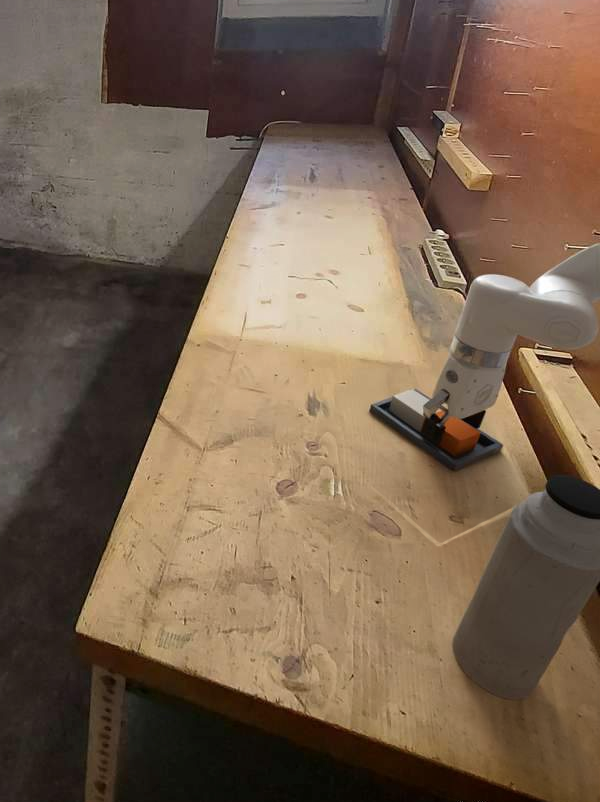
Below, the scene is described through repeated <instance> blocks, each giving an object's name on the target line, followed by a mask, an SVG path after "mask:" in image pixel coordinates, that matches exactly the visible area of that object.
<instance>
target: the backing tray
mask: <svg viewBox="0 0 600 802" xmlns="http://www.w3.org/2000/svg"><path fill="white" fill-rule="evenodd" d="M412 389H413V388H412ZM413 390H415V391H416V392H418V393H419V394H421V395H422V396H424V397H426V398H427V399H429V400H430V399H432V397H429V396H428V395H426V394H425V393H424V392H422V391H420V390H418V389H416V388H414V389H413ZM392 397H393V396H390V397H388V398H385V399H383V400H379V401H377V402H374V403H371V404H370V407H369V413H371V414H373V415H374V416H375V417H376V418H378V419H380V421H382V422H384V423H385V424H386V425H388V427H390V428H392V429H393V430H394V431H396V432H397V433H398V434H400V435H401V436H403V437H404V438H406V439H407V440H408V441H410V442H411V443H413V444H414V445H415V446H417V447H418V448H419V449H421V450H422V451H424V452H425V453H426V454H428V455H429V456H430V457H432V459H433V458H434V460H436V461H437V462H439V463H440V464H441V465H443V466H444V467H445V468H447V469H448V470H450V472H453V473H456V472H458V471H459V470H462V469H465V468H466V467H469V466H471V465H473V464H476V463H478V462H480V461H482V460H485V459H487V458H490V457H492V456H494V455H496V454H499V453H500V452H502V450H503V447H504V444H503V443H502V442H500V441H498V439H496V438H494V437H492V436H491V435H489V434H488V433H486V432H484V431H482V430H481V429H480V428H478V429H476V430H477V431H479V432H480V433H481V434H480V436H479V439H478V441H477V444H476V446H475V448H474V449H472V450H469V451H467V452H465V453H462V454H460V455H458V456H455V457H454V456H453V455H452V454H450V453H449V452H447V451H446V450H444V449H443V448H442V447H440V446H439V445H435V444H434V443H433V442H431V441H430V440H428V439H427V438H425V437H424V436H423V435H422V434H421V433H420V432H419V431H417V430H416V429H415V428H413V427H412V426H410V425H409V424H407V423H406V422H405V421H403V420H402V419H400V418H399V417H397V416H396V415H395V414H393V413H392V412H390V411H389V407H390V404H391V400H392ZM460 420H461V419H460ZM462 421H463V420H462ZM463 422H464V421H463ZM465 423H466V422H465ZM466 424H467V423H466ZM468 425H469V424H468ZM471 427H472V426H471ZM473 428H474V427H473ZM474 429H475V428H474Z"/></svg>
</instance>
